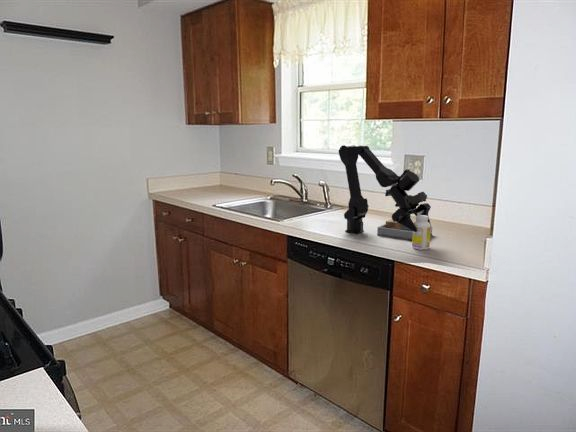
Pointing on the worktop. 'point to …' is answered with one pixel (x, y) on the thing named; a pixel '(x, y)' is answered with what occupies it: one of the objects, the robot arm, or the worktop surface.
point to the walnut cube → (393, 225)
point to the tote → (397, 232)
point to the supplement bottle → (421, 233)
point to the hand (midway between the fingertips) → (423, 229)
